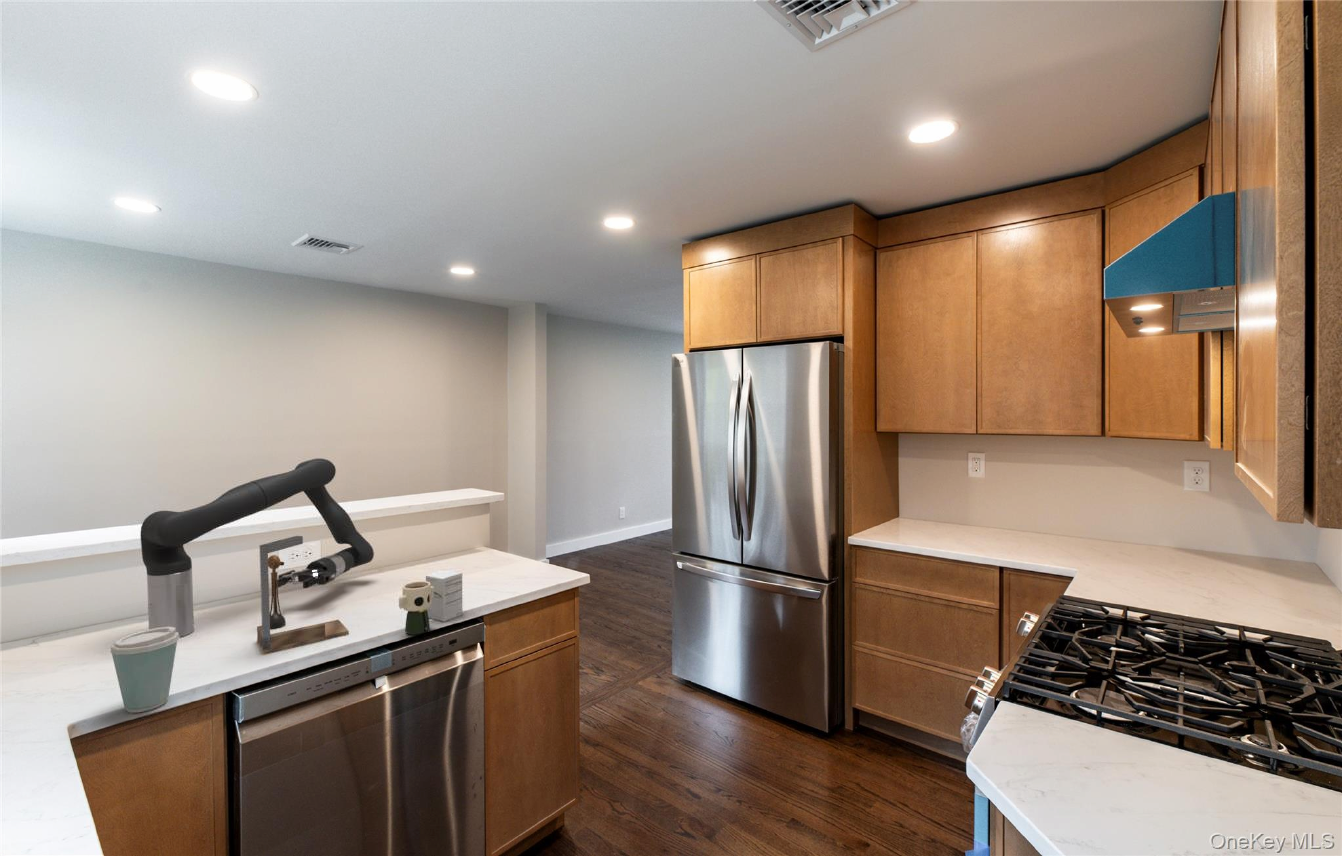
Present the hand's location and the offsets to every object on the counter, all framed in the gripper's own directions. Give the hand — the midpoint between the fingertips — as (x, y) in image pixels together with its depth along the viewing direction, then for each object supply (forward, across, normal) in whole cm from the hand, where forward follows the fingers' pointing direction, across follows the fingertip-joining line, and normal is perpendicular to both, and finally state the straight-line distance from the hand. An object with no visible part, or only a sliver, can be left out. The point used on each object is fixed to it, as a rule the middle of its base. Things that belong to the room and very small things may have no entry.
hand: (289, 584), depth 170 cm
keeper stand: (+13, +13, +10) cm, 21 cm away
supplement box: (-5, +43, +10) cm, 45 cm away
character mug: (+7, +41, +10) cm, 43 cm away
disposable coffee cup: (+48, +4, +10) cm, 49 cm away
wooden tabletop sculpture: (+6, 0, +10) cm, 12 cm away
